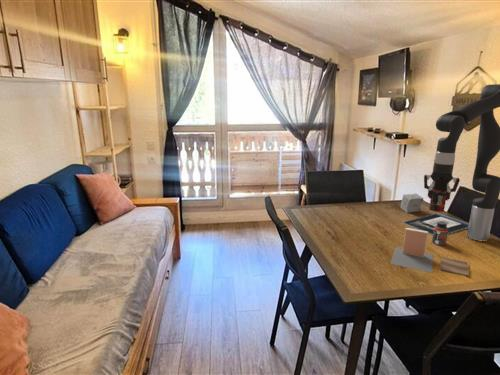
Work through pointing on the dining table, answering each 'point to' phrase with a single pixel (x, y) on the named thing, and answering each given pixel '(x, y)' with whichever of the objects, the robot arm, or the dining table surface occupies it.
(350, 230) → the dining table surface
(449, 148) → the robot arm
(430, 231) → the dark picture frame
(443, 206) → the deodorant
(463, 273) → the rest board
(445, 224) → the supplement bottle
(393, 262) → the mat
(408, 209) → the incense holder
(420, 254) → the tile
